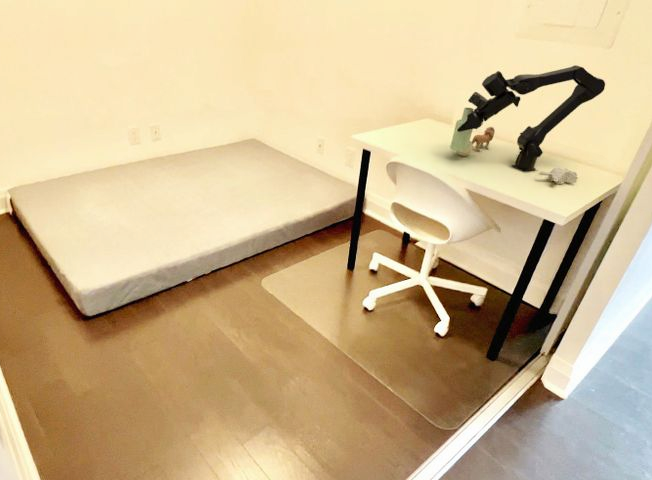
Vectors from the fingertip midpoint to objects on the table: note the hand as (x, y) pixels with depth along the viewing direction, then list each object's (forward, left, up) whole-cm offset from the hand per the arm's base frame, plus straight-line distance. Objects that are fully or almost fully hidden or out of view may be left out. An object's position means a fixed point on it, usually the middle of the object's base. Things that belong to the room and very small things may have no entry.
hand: (460, 128), depth 172 cm
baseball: (+3, -8, -13) cm, 16 cm away
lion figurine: (+7, -22, -13) cm, 26 cm away
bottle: (-1, -1, -8) cm, 8 cm away
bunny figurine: (-33, -23, -13) cm, 42 cm away
